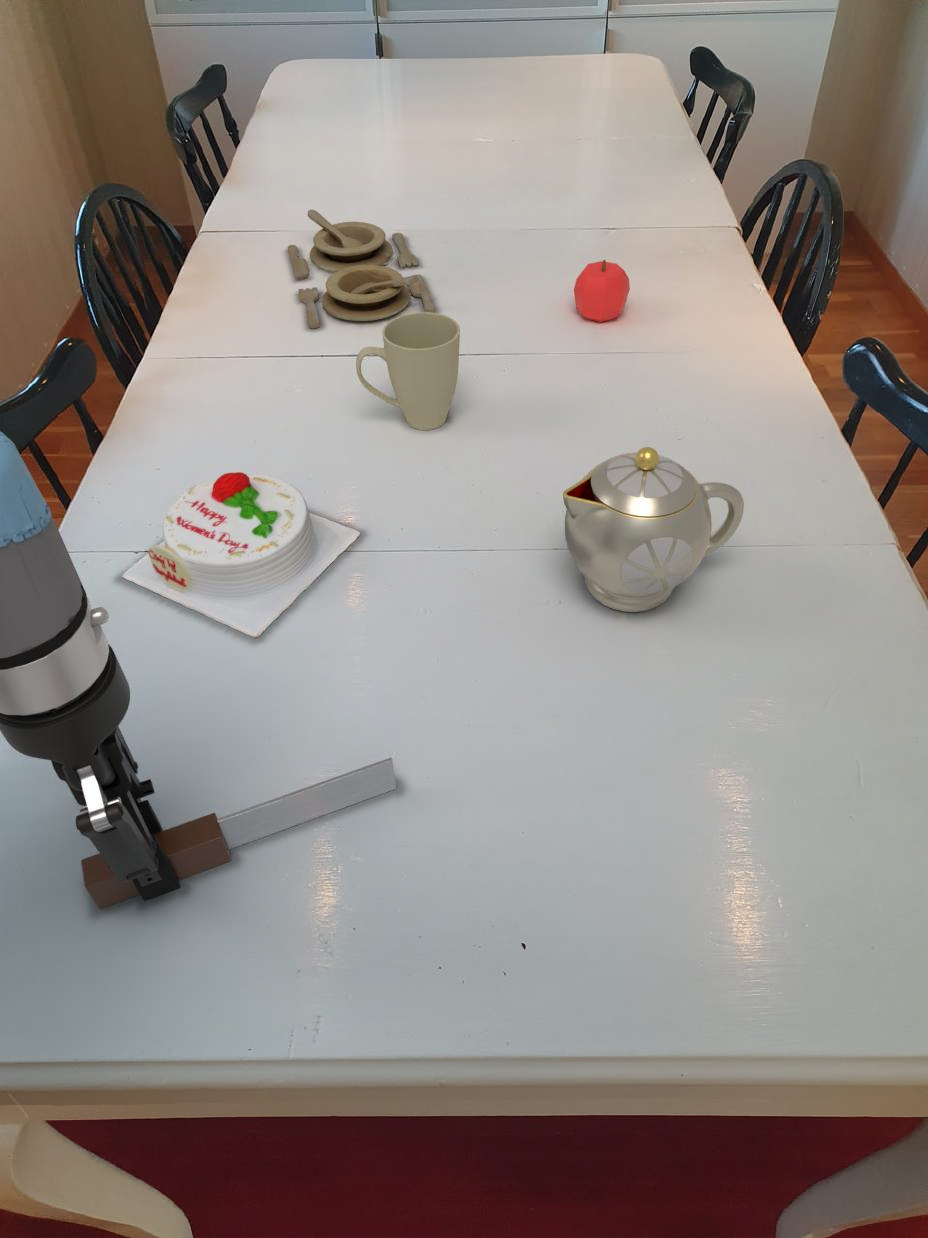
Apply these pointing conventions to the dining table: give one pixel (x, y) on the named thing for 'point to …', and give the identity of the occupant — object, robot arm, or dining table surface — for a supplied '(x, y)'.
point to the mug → (419, 366)
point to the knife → (241, 829)
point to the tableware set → (357, 272)
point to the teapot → (643, 527)
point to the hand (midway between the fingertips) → (158, 872)
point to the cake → (240, 550)
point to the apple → (601, 291)
